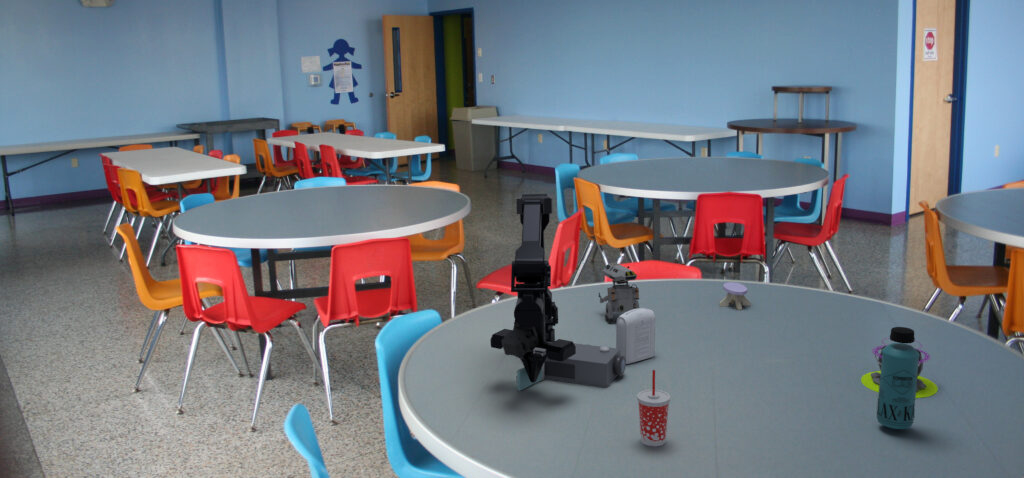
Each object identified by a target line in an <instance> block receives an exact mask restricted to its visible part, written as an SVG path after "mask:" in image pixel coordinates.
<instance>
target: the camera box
mask: <svg viewBox="0 0 1024 478" xmlns="http://www.w3.org/2000/svg"><path fill="white" fill-rule="evenodd" d="M573 343H574V344H575V346H576V354H574V355H573V356H571V357H569V358H568V359H566V360H564V361H555V360H550V359H549V358H548V357H547V358H546V360H545V362H544V380H545V379H546V380H550V381H551V380H552V381H553V380H554V381H558V382H567V383H573V384H578V385H579V384H580V385H584V386H585V385H586V386H594V387H600V388H608V387H609V386H610V385H611V383H612V382H613V381H614V380H615V379H616V378H617V376H620V377H621V376H623V375H624V373H625V370H626V365H627V364H626V360H625V357H624V356H621V355H620V349H617V348H616V347H609V346H601V345H600V346H598V345H593V344H592V345H591V344H582V343H577V342H576V343H575V342H573Z"/></svg>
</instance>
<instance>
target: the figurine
mask: <svg viewBox="0 0 1024 478" xmlns="http://www.w3.org/2000/svg"><path fill="white" fill-rule="evenodd" d="M630 268H631V267H630V266H629V265H627V267H626V266H624V265H621V264H620V263H618V262H609V263H608V264H607V265H605V267H604V268H603V269H602V274H603V276H605V277H607V278H609V279H611V280H612V286H611V287H607V288H606V290H607V291H606V292H607V295H605V296H604V297H602V295H601V294H600V293H601V292H598V298H599V299H600V300H599V303H600V304H603V303H605V302H606V303H605V312H604V313H605V314H604V319H605V321H606V322H607V323H608V324H613V323H614V318H613V315H614V314H613V313H625V312H628V311H630V310H633V309H638V308H640V304H639V300H640V293H639V292H640V291H639V287H638V286H637V285H636V284H632V285H631V286H630V284H629V282H630V281H636V280H637V277H638V274H636V273H635V271H634V270H632V269H630ZM633 286H635V287H633Z"/></svg>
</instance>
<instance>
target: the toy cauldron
mask: <svg viewBox="0 0 1024 478" xmlns="http://www.w3.org/2000/svg"><path fill="white" fill-rule="evenodd" d="M887 339H889V337H886V338H883V340H881V343H882V344H883V345H878V346H876V347H873V348H872V349H871V353H872V354H873V355H874V358H875V361H876V362H877V363H878V364H877V365H878V367H879V370H876V371H870V372H866V373H865V374H863V375H862V376H861V378H860V381H861V384H863V386H864V387H865V388H867V389H869V390H871V391H873V392H875V393H878V394H879V388H878V387H879V386H880V382H879V381H880V380H879V379H880V376H881V365H882V354H883V353H882V350H883V348H885V347H886V346H888V345H889V344H886V343H884V340H887ZM915 342H917V343H918V344H920V347H918V348H916V347H914V348H915V349H916V350H917V351H918V352H919V361H918V372H917V386H916V392H917V393H916V394H917V396H915V399H923V398H929V397H932V396H935V395H936V394H937V393H938V390H939V388H938V385H937V384H936V383H934V382H933V381H932V380H930V379H928V378H927V377H924V376H921V373H922V372H923V369H924V363H926V362H929V361H930V360H931V359H932V357H931V355H930V353H928V352H926V351H924V350H923V349H922V348H923V344H921V342H920V341H917V340H915ZM879 350H880V353H879ZM922 354H923V355H924V358H923V356H922Z"/></svg>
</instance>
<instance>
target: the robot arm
mask: <svg viewBox="0 0 1024 478" xmlns="http://www.w3.org/2000/svg"><path fill="white" fill-rule="evenodd" d="M515 202H516V204H515V205H516V215H519V218H520V219H519V220H520V222H519V223H520V224H521V226H522V234H521V245H520V246H519V247H518V248H517V249H516V250H515V254H514V255H515V256H514V260H512V261H511V277H510V280H511V281H510V293H516V294H517V295H516V296H517V300H516V303H515V307H514V310H513V317H514V322H513V328H512V329H508V328H503V329H501V330H498V331H497V332H495V333H493V334H492V335H491V338H490V347H491V348H493V349H498V350H502V349H503V352H504V354H505V356H513V357H516V358H518V359H520V361H521V364H522V365H523V368H524V367H525V369H526V372H527V374H528V377H529V379H530V382H533V383H534V382H536V380H537V378H538V376H539V373H540V371H541V368H542V366H543V364H544V362H545V360H546V358H547V357H548V358H549V359H550V360H555V361H564V360H566V359H568V358H569V357H571V356H573V355H574V354H576V346H575V344H574V343H575V342H573V341H572V340H566V339H561V338H558V339H556V331H555V330H556V329H555V328H554V327H555V326H556V325H558V324H559V308H558V307H557V305H556V302H555V301H553V292H552V291H551V290H550V288H549V287H551V285H552V281H551V280H552V266H551V265H550V262H549V260H546V256H545V255H546V250H545V247H546V246H545V230H546V229H547V227H548V225H549V224H550V222H551V221H550V218H551V214H553V212H554V211H553V210H554V206H553V205H554V204H553V203H554V201H553V198H551V197H550V196H548V193H522V195H521V198H516V201H515ZM515 282H516V283H515ZM534 384H535V383H534Z"/></svg>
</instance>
